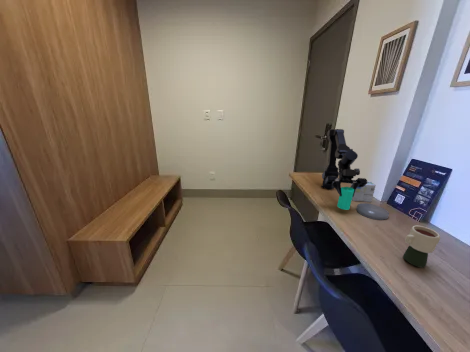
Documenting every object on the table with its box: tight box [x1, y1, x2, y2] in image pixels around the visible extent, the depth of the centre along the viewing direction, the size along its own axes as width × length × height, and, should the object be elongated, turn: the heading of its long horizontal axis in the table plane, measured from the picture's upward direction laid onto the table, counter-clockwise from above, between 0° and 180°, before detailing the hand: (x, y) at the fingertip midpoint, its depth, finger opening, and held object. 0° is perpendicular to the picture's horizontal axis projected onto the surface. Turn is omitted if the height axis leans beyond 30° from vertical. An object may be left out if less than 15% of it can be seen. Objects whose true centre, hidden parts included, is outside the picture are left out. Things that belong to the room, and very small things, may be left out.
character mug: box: [402, 225, 441, 268], centre depth 70 cm, size 11×7×13 cm, turn 88°
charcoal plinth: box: [356, 202, 390, 221], centre depth 105 cm, size 14×14×2 cm
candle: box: [336, 186, 354, 211], centre depth 103 cm, size 6×6×12 cm
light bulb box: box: [350, 180, 376, 203], centre depth 119 cm, size 11×7×11 cm, turn 84°
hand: (346, 196), depth 101 cm, fingers closed on candle, 5 cm apart
